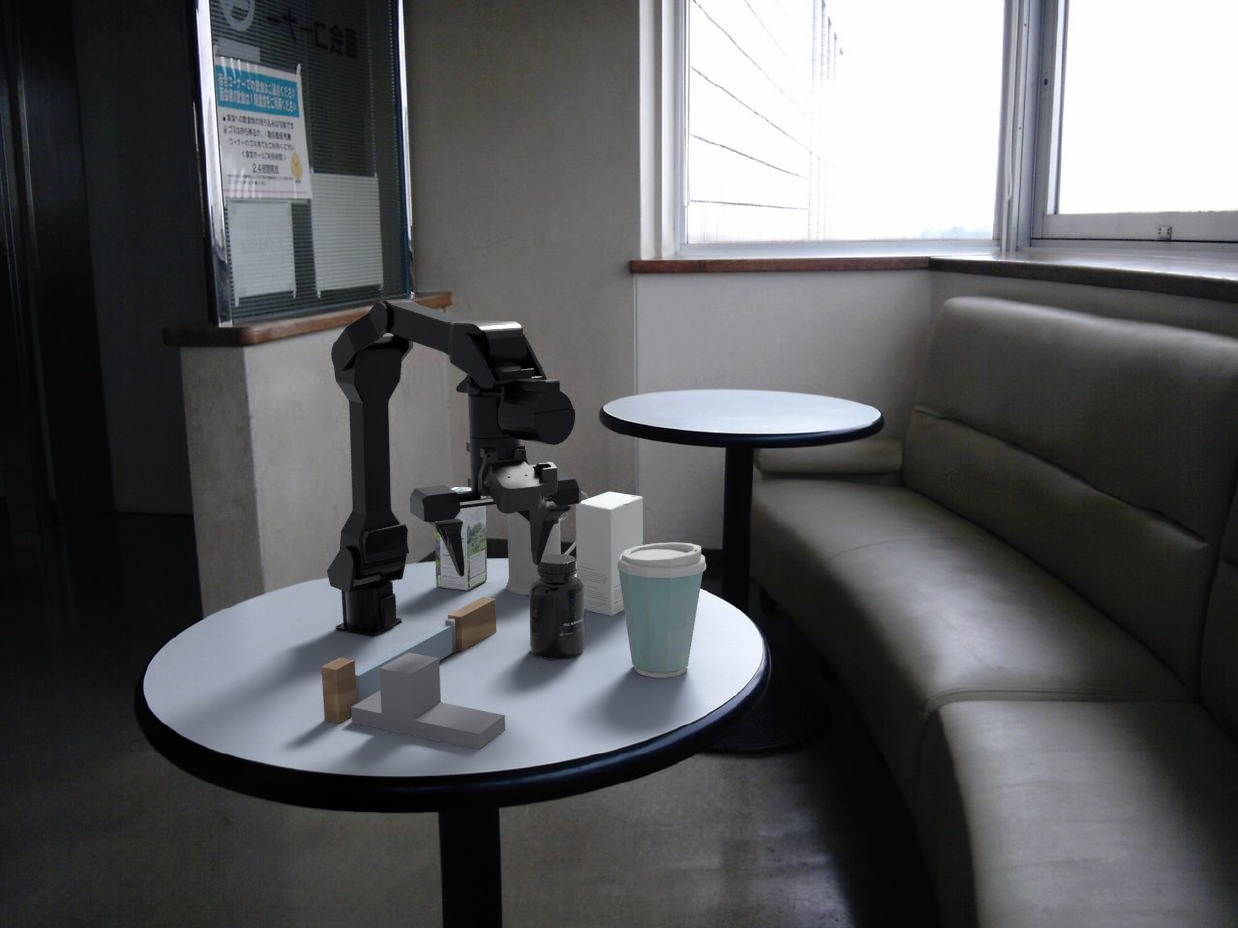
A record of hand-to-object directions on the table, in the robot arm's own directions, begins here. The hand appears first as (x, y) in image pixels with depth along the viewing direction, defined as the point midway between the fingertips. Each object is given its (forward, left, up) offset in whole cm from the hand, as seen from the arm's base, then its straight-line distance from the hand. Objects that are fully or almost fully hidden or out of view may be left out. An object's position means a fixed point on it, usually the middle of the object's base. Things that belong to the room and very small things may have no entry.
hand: (499, 569), depth 123 cm
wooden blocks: (-11, +5, -14) cm, 18 cm away
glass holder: (-14, +36, -14) cm, 41 cm away
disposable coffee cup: (+15, +11, -14) cm, 23 cm away
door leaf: (-11, +5, -14) cm, 18 cm away
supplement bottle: (+1, +11, -14) cm, 18 cm away
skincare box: (-1, +30, -14) cm, 33 cm away
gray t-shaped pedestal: (-3, -14, -14) cm, 20 cm away
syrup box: (-26, +30, -14) cm, 42 cm away
